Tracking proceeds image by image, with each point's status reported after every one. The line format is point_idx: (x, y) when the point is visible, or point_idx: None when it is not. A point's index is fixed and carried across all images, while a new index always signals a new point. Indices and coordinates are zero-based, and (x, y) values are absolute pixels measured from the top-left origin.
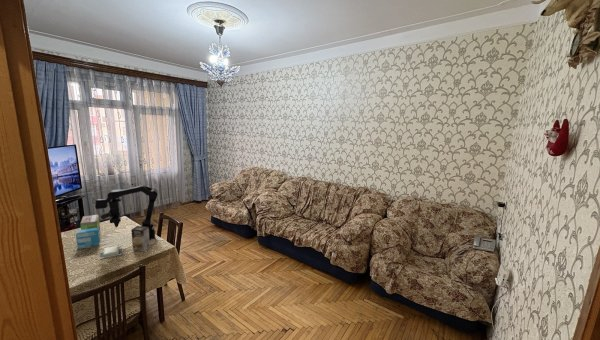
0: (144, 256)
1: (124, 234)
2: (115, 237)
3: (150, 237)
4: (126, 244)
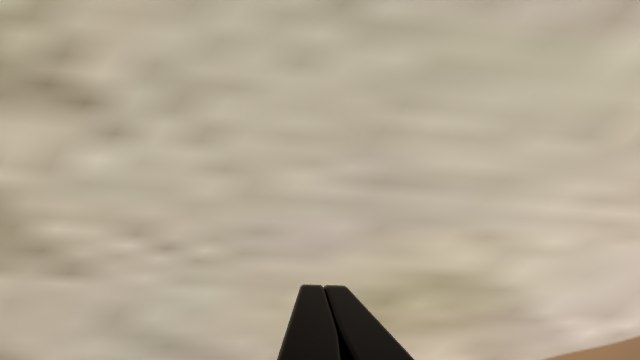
0: None
1: (525, 190)
2: (516, 67)
3: None
4: (118, 182)
